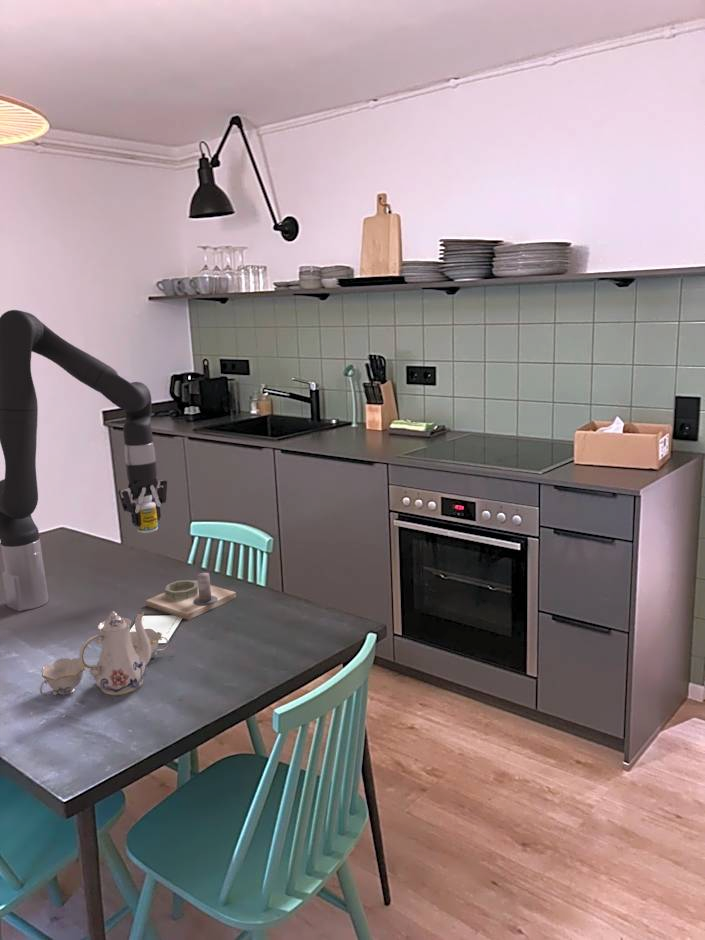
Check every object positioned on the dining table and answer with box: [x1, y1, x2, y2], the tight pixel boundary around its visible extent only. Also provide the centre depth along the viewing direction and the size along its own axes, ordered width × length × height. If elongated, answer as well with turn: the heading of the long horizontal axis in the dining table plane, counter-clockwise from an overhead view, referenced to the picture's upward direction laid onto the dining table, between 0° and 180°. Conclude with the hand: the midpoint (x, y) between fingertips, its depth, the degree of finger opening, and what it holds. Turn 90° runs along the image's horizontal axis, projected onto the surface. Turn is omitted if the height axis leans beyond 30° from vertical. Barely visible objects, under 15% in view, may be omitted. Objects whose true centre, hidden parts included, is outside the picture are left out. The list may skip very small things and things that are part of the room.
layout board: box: [146, 572, 237, 621], centre depth 195 cm, size 16×16×8 cm
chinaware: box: [39, 611, 169, 697], centre depth 157 cm, size 28×17×17 cm, turn 141°
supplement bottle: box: [136, 494, 159, 534], centre depth 200 cm, size 5×5×10 cm
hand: (146, 522), depth 201 cm, fingers closed on supplement bottle, 5 cm apart
